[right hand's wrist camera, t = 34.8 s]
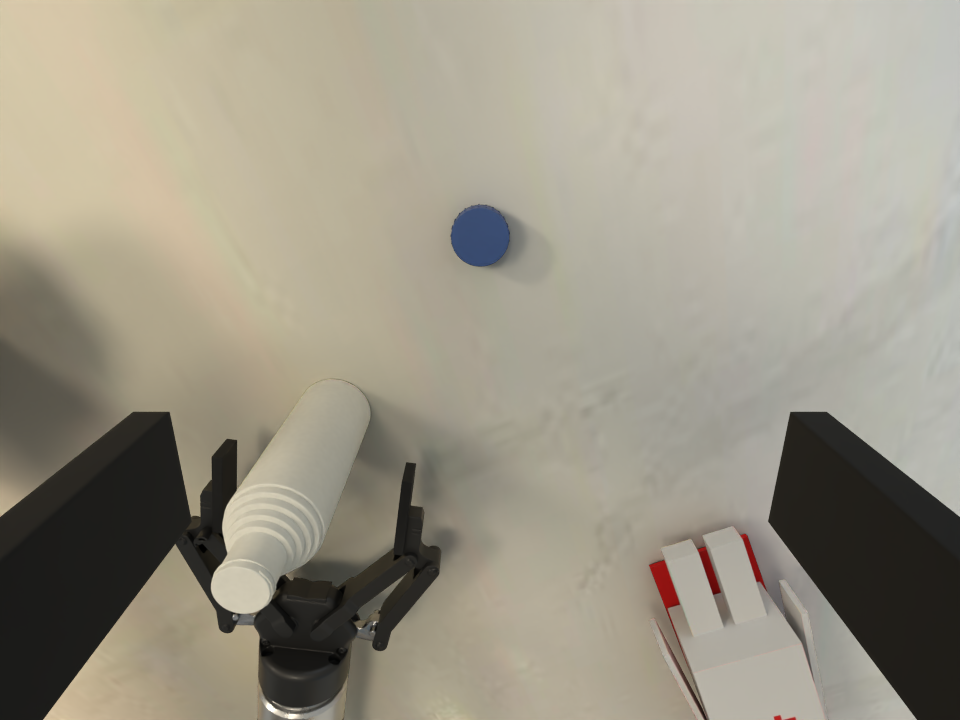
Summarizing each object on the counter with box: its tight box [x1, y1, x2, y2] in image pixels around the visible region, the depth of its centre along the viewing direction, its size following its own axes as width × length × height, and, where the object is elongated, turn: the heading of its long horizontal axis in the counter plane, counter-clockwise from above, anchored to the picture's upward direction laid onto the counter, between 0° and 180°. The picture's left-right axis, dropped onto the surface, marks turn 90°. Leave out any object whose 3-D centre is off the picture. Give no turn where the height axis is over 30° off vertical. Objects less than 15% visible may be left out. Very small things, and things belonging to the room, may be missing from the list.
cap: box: [451, 204, 510, 266], centre depth 44 cm, size 4×4×2 cm
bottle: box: [211, 379, 371, 614], centre depth 40 cm, size 6×6×21 cm
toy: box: [649, 526, 828, 720], centre depth 53 cm, size 12×13×30 cm
